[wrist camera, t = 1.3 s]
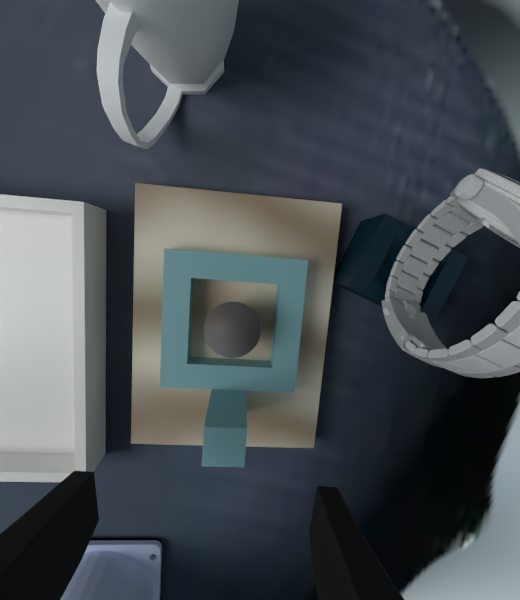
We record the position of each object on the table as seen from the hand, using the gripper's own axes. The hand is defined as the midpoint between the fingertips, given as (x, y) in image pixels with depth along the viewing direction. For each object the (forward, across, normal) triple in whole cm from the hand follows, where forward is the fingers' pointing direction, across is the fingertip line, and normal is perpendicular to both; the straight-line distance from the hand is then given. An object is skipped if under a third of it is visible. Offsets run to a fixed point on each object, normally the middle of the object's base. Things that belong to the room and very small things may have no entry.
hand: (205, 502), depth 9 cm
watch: (+12, -9, -6) cm, 16 cm away
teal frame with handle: (+9, 0, -2) cm, 10 cm away
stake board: (+10, 0, -2) cm, 11 cm away
